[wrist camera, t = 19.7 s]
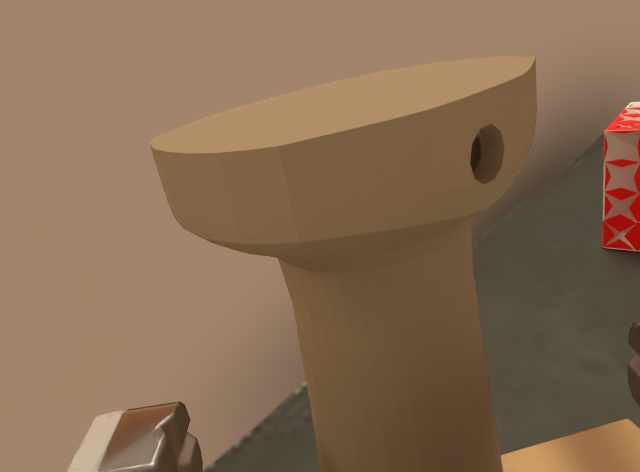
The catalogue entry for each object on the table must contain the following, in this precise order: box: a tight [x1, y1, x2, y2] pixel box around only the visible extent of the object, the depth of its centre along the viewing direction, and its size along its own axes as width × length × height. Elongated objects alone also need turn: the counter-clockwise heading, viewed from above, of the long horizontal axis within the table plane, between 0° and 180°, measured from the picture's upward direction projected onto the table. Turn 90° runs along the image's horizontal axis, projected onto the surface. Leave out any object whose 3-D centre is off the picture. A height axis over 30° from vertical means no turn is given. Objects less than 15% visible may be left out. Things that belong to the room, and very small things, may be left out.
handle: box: [150, 56, 537, 472], centre depth 11 cm, size 5×6×15 cm
